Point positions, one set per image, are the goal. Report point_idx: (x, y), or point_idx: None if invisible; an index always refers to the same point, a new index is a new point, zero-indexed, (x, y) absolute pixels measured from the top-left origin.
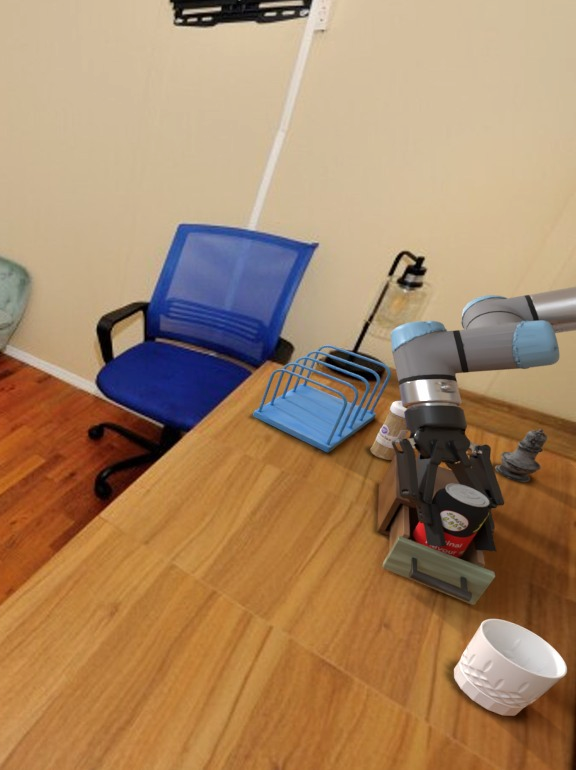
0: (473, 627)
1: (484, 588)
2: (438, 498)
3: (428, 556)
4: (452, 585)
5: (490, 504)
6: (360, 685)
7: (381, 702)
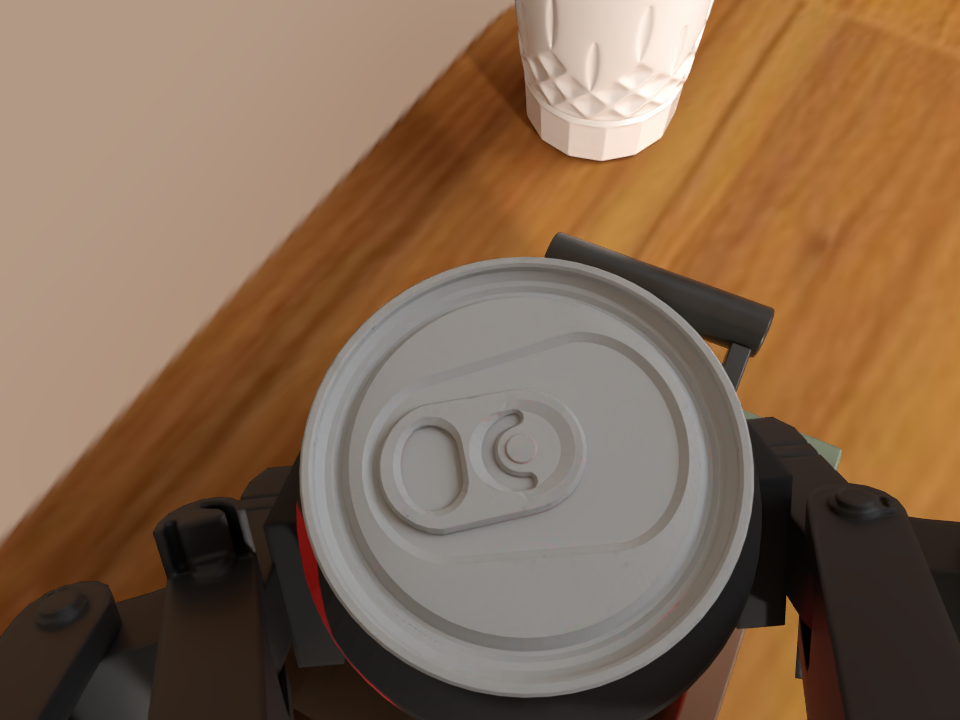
0: None
1: None
2: (760, 506)
3: None
4: (618, 265)
5: (198, 559)
6: (955, 41)
7: (907, 15)
